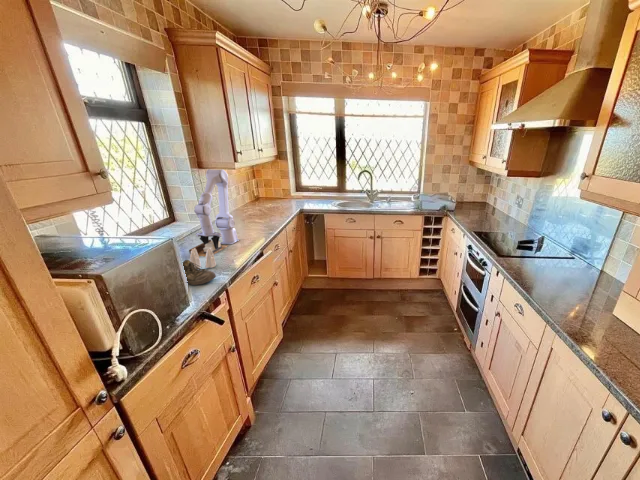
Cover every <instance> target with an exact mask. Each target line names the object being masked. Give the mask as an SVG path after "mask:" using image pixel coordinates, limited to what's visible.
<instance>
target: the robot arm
mask: <svg viewBox="0 0 640 480" xmlns="http://www.w3.org/2000/svg"><path fill="white" fill-rule="evenodd" d="M205 178H206V183H205V187H204V192H201V194H200V196H199V200H198V203H197V204H196V205H195V206H194V213H195V214H196V216H197V217H196V218H198V220H199V224H200V227H201V231H202V232H195V236H196V237H197V238H198V237H199V240H200V241H201V242H202V243H204V244H207V243H209V240H211V241H213V243H214V247H215V249H217V248H218V242H219V241H220V238H221V239H222V241H221V242H220V244H221V245H233V244H235V243H237V242H238V241H240V239H239V238H238V234H237V230H236V228H235V220H234V216H233V215H232V214H231V213H230V211H229V210H230V208H229V206H230V205H229V186H228V185H229V174H228V173H227V171H226V170H225V169H223V168H221V169H214V168H213V169H212V168H209V169H207V170H206V174H205ZM215 186H217V193H218V196H217V197H218V213H217V214H216V215H215V220H214V224H215V226H216V228H218V230H219V231H220V232H218V231H217V232H216V231H215V230H214V227H213V223H212V218H211V213H212V201H213V195H212V193H213V191H214V189H215ZM209 237H210V238H209Z"/></svg>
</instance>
